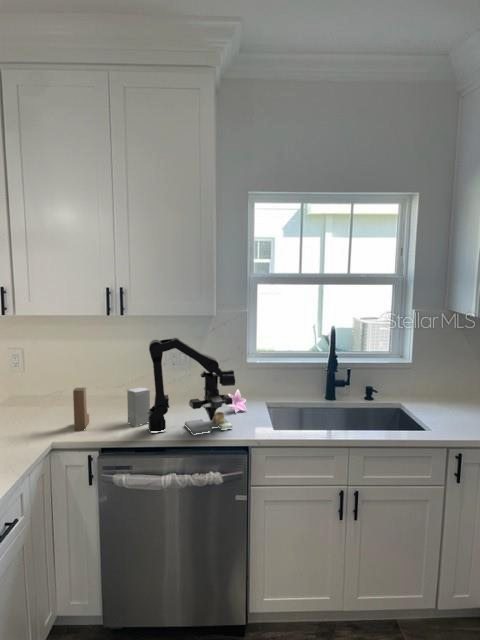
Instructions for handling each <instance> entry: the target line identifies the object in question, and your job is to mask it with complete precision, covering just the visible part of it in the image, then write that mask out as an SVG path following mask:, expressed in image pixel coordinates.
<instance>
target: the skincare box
mask: <svg viewBox="0 0 480 640" xmlns="http://www.w3.org/2000/svg"><path fill="white" fill-rule="evenodd" d="M126 391H127V394H126V395H127V424H128V423H130V424H132V425H131V426H133V425H134V426H133V427H135V426H137V425H140V424H144V423H147V422H149V420H148V417H149V416H150V412H149V410H150V409H151V404H150V403H151V398H150V397H151V395H150V394H151V393H150V389H149V388H146V387H135V388H131V389H127V390H126ZM130 424H129V425H130ZM147 424H148V423H147ZM144 425H145V424H144ZM137 427H138V426H137Z"/></svg>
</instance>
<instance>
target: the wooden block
mask: <svg viewBox="0 0 480 640" xmlns="http://www.w3.org/2000/svg"><path fill="white" fill-rule="evenodd" d="M72 392H73V393H72V394H73V396H72V397H73V398H72V399H73V421H74V423H73V425H74V431H75V430H78V431H85V430H86V429H87V428H88V426H89V424H90V413H88V411H87V408H88V407H87V388H86V387H75V388H74V390H73V391H72ZM87 425H88V426H87ZM86 427H87V428H86ZM84 429H85V430H84Z"/></svg>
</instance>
